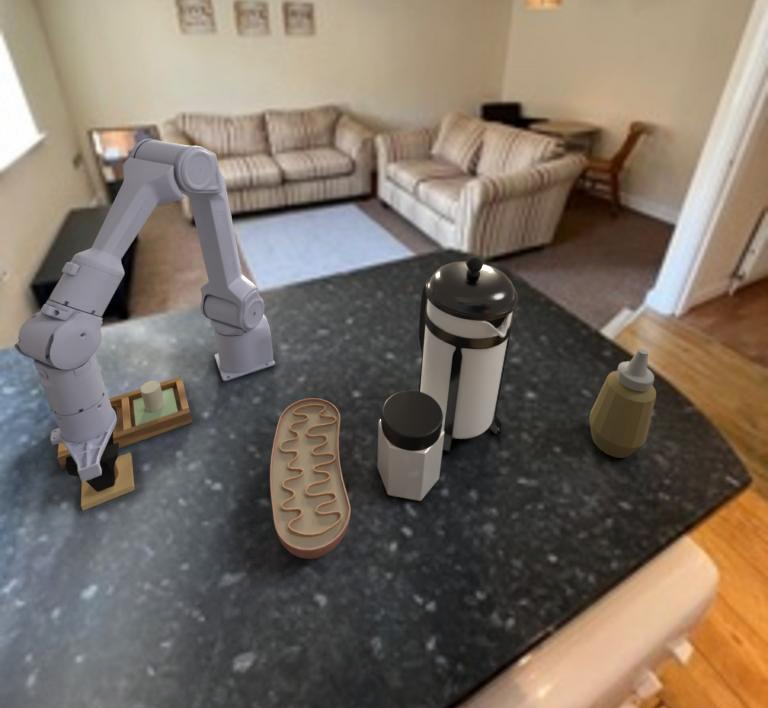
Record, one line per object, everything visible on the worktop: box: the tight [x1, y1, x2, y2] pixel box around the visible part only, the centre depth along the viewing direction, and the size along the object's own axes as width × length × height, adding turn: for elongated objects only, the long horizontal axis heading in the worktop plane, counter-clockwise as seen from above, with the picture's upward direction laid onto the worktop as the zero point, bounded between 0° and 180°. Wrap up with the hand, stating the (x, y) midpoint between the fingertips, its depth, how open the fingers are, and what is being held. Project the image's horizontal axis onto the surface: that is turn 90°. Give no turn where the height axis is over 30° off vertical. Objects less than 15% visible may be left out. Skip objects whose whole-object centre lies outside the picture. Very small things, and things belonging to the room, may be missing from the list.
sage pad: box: [133, 380, 178, 426], centre depth 71 cm, size 6×6×5 cm
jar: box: [376, 389, 444, 502], centre depth 62 cm, size 9×8×12 cm
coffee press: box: [418, 255, 519, 455], centre depth 68 cm, size 17×16×30 cm
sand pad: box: [80, 452, 136, 511], centre depth 61 cm, size 6×6×5 cm
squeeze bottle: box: [588, 348, 657, 459], centre depth 66 cm, size 8×8×18 cm
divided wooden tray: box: [56, 376, 193, 470], centre depth 70 cm, size 9×17×2 cm, turn 120°
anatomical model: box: [269, 397, 352, 560], centre depth 61 cm, size 23×10×5 cm, turn 10°
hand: (105, 472), depth 61 cm, fingers open, 4 cm apart
